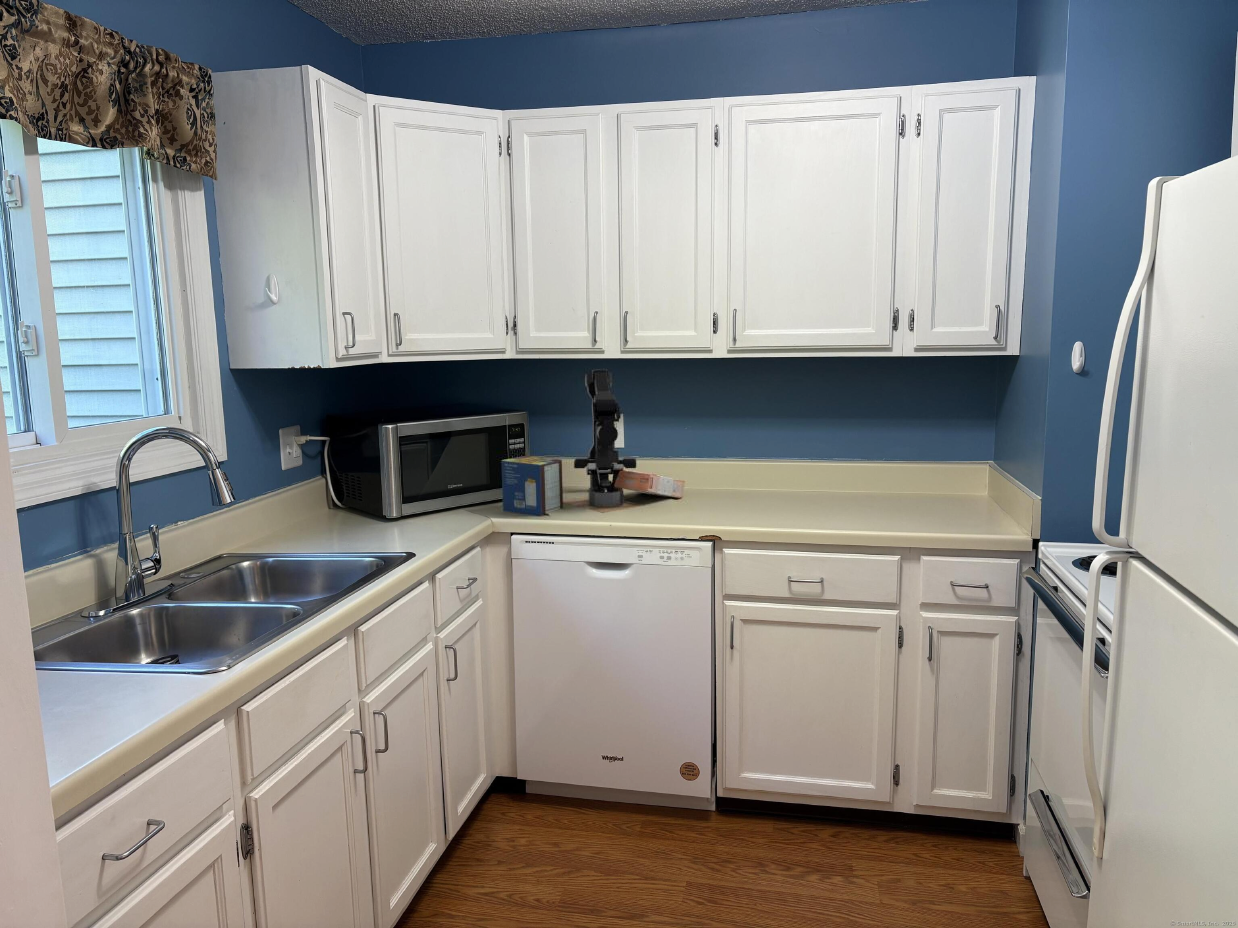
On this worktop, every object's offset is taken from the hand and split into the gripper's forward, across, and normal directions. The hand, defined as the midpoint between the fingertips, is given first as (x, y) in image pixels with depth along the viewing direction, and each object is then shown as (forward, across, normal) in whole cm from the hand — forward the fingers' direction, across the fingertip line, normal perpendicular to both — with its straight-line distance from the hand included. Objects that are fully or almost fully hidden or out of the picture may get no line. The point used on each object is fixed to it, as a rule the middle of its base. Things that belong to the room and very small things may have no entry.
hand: (605, 490), depth 262 cm
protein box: (+5, -22, -5) cm, 23 cm away
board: (+5, -1, +2) cm, 5 cm away
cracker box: (+2, +19, +19) cm, 26 cm away
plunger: (+4, 0, 0) cm, 4 cm away
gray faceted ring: (+4, -1, +1) cm, 4 cm away
